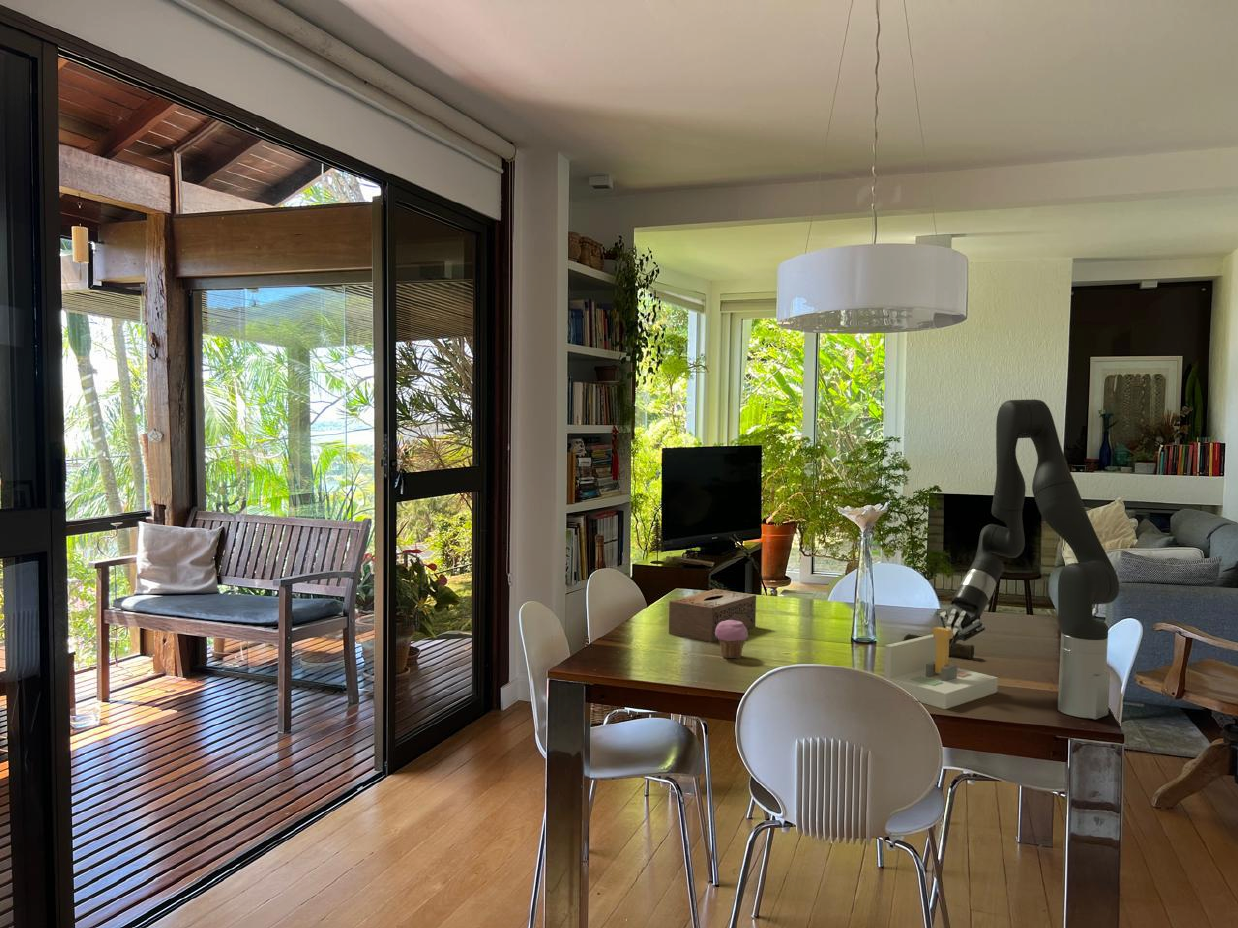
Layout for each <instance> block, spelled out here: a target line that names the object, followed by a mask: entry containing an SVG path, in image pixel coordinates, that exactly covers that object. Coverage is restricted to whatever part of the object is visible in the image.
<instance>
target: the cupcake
mask: <svg viewBox="0 0 1238 928" xmlns="http://www.w3.org/2000/svg"><path fill="white" fill-rule="evenodd" d="M715 636H716V637H717V638H718V642H719V648H720V653H721V655H722V657H723V658H726V659H740V658H741V657H742V652H743V647H744V644H745V641H746V640H747V638H748V637H749V633H748V629H746V627H745V626H744V625H743V623H742V622H740V621H735V620H726V621H722V622H720V623H719V624H718V625H717V627H716V630H715Z"/></svg>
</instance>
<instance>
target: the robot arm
mask: <svg viewBox="0 0 1238 928" xmlns="http://www.w3.org/2000/svg"><path fill="white" fill-rule="evenodd" d="M995 426H996V428H995V429H996V433H995V435H996V436H995V437H996V438H995V439H996V441H995V444H996V446H995V452H996V453H995V454H996V459H995V460H996V477H995V484H994V485H995V486H994V493H993V498H992V504H991V514H992V516H993V517H995V518H996V519H998V520H999V521H1001V522H1003V523H1004V524H1005V525H1006V526H1002V525H999V524H994V523H990V524H987V525H985V526H984V527H983V528H982V529H981V531H980V533H979V539H978V545H977V548H976V549H977V550H976V553H975V557H974V559H973V561H972V564H971V565H970V567H969V570H967V573H966V574H965V575H964V577H963V578H962V579H961V582H960V583H959V585H958V587H957V589H956V591H955V593H954V594H953V597H952V598H951V602H950V605H949V606H947V607H946V609H945V610H944V611H942V612H940V611H935V612H934V617H935V620H936V621H935V622H936V625H937V627H942V628H947V629H952V630H953V638H951V639H949V651H951V650H952V649H953V647H954V645H955V643H956V644H957V642H959V641H963V642H966V641H968V640H970V639H971V638H973V637H974V636H977V635H978V634H980V633H982V632H983V631H984V632H985V630H986V627H985V626H984V624H983V622H982V621H981V616H982V615H983V613H984V611H985V609H986V608H987V606H988V603H989V601H990V599H991V598H992V596H993V594H994V591H995V589H996V585H997V584H998V582H999V579H1000V577H1001V576H1002V574H1003V572H1004V569H1005V567H1004V563H1003V561H1002V560H1001V559H999V558H998V557H997V556H995V555H999V556H1003V557H1005V558H1010V559H1015V558H1018V557H1020V555H1021V554H1022V553H1023V552H1024V549H1025V545H1026V543H1025V542H1026V538H1025V531H1024V522H1023V511H1024V505H1025V498H1026V492H1027V490H1026V486H1027V485H1026V481H1025V478H1024V475H1023V473H1022V471H1021V468H1020V465H1019V463H1018V459H1017V454H1016V452H1017V444H1018V440H1019V439H1030V440H1031V441H1032V443H1033V445H1034V448H1035V451H1036V456H1037V463H1036V468H1035V471H1034V475H1033V479H1032V484H1031V492H1032V494H1033V498H1034V501H1035V503H1036V506H1037V508H1038V511H1039V513H1040V515H1041V517H1042V519H1043V521H1045V523H1047V525H1048V526H1049V527H1050V528H1051V529H1052V531H1054V533H1056V534H1057V535H1058V536H1059V537H1060V538H1061V539H1062V540H1063V541H1065V543H1066V544H1067V545H1068V546H1069V548H1070V550H1071V551H1072V553H1073V554H1074V556H1075V559H1076V561H1077V562H1070V563H1068V564H1066V565H1064V566H1063V567H1062V569H1060V570H1061V571H1060V573H1059V574H1058V582H1057V613H1058V614H1057V616H1058V620H1059V624H1060V626H1061V627H1060V630H1061V631H1060V651H1059V653H1060V654H1059V669H1058V670H1059V672H1058V674H1059V675H1058V696H1057V710H1058V711H1059V712H1061V713H1062V714H1065V715H1068V716H1072V717H1076V718H1081V719H1082V718H1083V719H1092V720H1099V719H1101V718H1103V717H1106V716H1108V715H1109V709H1110V707H1109V706H1110V683H1111V673H1110V671H1107V662H1108V644H1109V643H1108V641H1109V627H1108V625H1107V624H1106V623H1105V622H1103V621H1101V620H1097V619H1096V618H1095V617H1094V613H1093V605H1105V604H1110V603H1113V602H1115V600H1116V599H1117V598H1118V596H1119V593H1120V581H1119V577H1118V575H1117V572H1116V570H1115V567H1114V566H1113V564H1112V561H1111V560H1110V558H1109V557H1108V555H1107V553H1106V551H1105V548H1104V546H1103V545H1102V543H1101V541H1100V540H1099V537H1098V535H1097V532H1096V531H1095V529H1094V526H1093V524H1092V522H1091V519H1090V516H1089V515H1088V513H1087V510H1086V508H1085V504H1084V502H1083V499H1082V497H1081V495H1080V491H1079V489H1078V486H1077V484H1076V482H1075V480H1074V477H1073V474H1072V473H1071V470H1070V468H1069V466H1068V462H1067V459H1066V457H1065V454H1064V452H1063V449H1062V446H1061V442H1060V439H1059V438H1060V437H1059V435H1058V432H1057V428H1056V423H1055V420H1054V417H1053V415H1052V412H1051V410H1050V408H1049V406H1048V404H1046V403H1045V402H1044V401H1043V400H1040V399H1033V398H1032V399H1009V400H1006V401H1003V403H1002V404H1001V405H1000V407H999V409H998V412H997V416H996V425H995ZM993 554H995V555H993ZM945 623H946V624H945Z"/></svg>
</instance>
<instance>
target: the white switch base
mask: <svg viewBox="0 0 1238 928" xmlns="http://www.w3.org/2000/svg"><path fill="white" fill-rule="evenodd" d="M922 636H923V637H919V638H915V639H910V640H906V641H903V640H902V641H898V642H894V643H890V644H885V646H884V650H885V651H884V670H883V671H884V675H883V679H884V678H886V679H887V680H889V681H891V682H893V683H895V684H897V685H899V686H901V687H902V688H904V689H905V690H906V691H908V692H909V693H911V694H912V695H913V696H914V697H915V698H916V699H918V700H919V701H920V702H919V703H922V704H925V705H926V704H927V705H929V706H933V707H936V708H940V709H943V710H947V709H950V708H953V707H956V706H959V705H962V704H965V703H969V702H972V701H974V700H977V699H981V698H984V697H987V696H990V695H993V694H995V693H998V680H999V679H998V678H999V677H996V676H993V675H989V674H985V673H980V672H977V671H974V670H973V671H972V670H969V669H964V668H960V667H958V665H957V664H950V665H948V666H946V667H942V668H941V674H939V673H935V658H936V637H933V633H932V634H929V635H928V634H927V635H922Z"/></svg>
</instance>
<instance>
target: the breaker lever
mask: <svg viewBox="0 0 1238 928" xmlns="http://www.w3.org/2000/svg"><path fill="white" fill-rule="evenodd" d="M932 634H933V637H936V658H935V673H939V674H941V668H942V667H946V666H949V656H950V655H949V639H951V638H953V630H952V629H947V628H942V627H938V626H936V627H933V632H932Z"/></svg>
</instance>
